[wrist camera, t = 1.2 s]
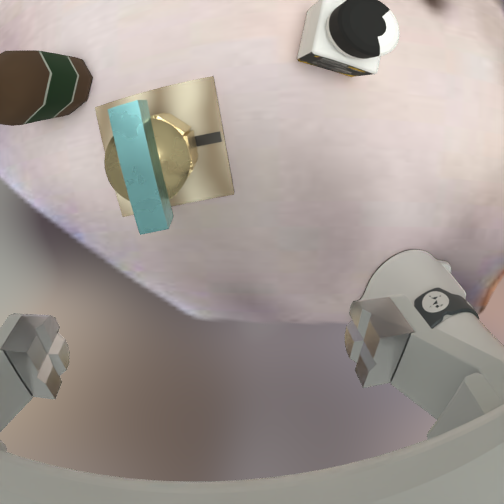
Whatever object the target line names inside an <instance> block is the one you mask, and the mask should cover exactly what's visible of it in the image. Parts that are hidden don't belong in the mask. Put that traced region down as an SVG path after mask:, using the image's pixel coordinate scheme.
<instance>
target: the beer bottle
mask: <svg viewBox="0 0 504 504" xmlns="http://www.w3.org/2000/svg"><path fill="white" fill-rule="evenodd" d="M91 81H92V76H91V74H90V72H89V70H88V68H87V67H86V65H85V63H84V61H83V60H82V59H79V58H75V57H70V56H65V55H60V54H55V53H49V52H43V51H5V52H3V53H1V54H0V124H3V125H11V126H13V125H23V124H27V123H32V122H36V121H41V120H46V119H51V118H56V117H61V116H65V115H69V114H70V113H72V112H73V111H74V110H75V109H76V108H78V107H79V106H80V105H81V104H83V103H84V102H85V101H86V100H87V97H88V93H89V89H90V85H91Z"/></svg>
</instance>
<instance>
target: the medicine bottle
mask: <svg viewBox="0 0 504 504" xmlns="http://www.w3.org/2000/svg"><path fill="white" fill-rule="evenodd" d="M398 40H399V26H398V23H397V20H396V18H395V16H394V15H393V13H392V12H391V11H390V9H389V8H388V7H387V6H385V5H384V4H383V3H381V2H380V1H378V0H346V1H345V0H318V1H317V2H316V3H315V4H314V5H313V6H312V7H311V8H310V9H309V10H308V11H307V16H306V20H305V25H304V29H303V34H302V38H301V43H300V47H299V52H298V57H297V60H298V61H300V62H304V63H307V64H311V65H315V66H318V67H322V68H325V69H328V70H332V71H335V72H338V73H341V74H344V75H347V76H350V77H353V76H361V75H370V74H376V73H377V71H378V67H379V62H380V57H381V56H382V55H385V54H388V53H389V52H391V51H392V50H393V49H394V48H395V47H396V45H397V43H398Z"/></svg>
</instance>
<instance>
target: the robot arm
mask: <svg viewBox="0 0 504 504" xmlns="http://www.w3.org/2000/svg"><path fill="white" fill-rule="evenodd" d="M465 299H466V293H465V291H464V290H463V288H462V287H461V286H460V285H459V283H458V282H457V281H456V280H455V278H454V277H453V276H452V275H451V266H450V265H449V263H448V262H446V261H441V260H437V259H435V258H434V257H433V256H432V255H431V254H429V253H428V252H426V251H423V250H408V251H404V252H401V253H399V254H397V255H395V256H393V257H392V258H390V259H389V260H387V261H386V262H385V263H384V264H383V265H382V266H381V267H380V268H379V269H378V270H377V271H376V272H375V274H374V275H373V276H372V278H371V280H370V282H369V284H368V286H367V288H366V291H365V293H364V295H363V297H362V298H361V299H360V300H359V301H353V303H352V305H351V307H350V312H349V314H350V316H351V318H352V321H351V322H350V323H349V324H348V325H347V326H346V331H345V347H346V351H347V353H348V355H349V358H350V359H351V360H353V361H354V362H356V363H357V365H356V368H355V371H356V374H357V376H358V378H359V380H360V382H361V385H362V387H363V388H366V387H371V386H376V385H381V384H386V383H391V385H393V386H394V387H395V388H396V389H398V390H399V391H401V392H402V393H403V394H404V395H406V396H407V397H408V398H409V399H411V400H412V401H413V402H415V403H416V404H417V405H419V406H420V407H421V408H422V409H424V410H425V411H426V412H428V413H429V414H430V415H431V416H433V417H434V418H435V419H437V421H436V422H435V424H434V425H433V426H432V428H431V429H430V430H429V432H428V434H427V437H428V439H427V440H425V441H422V442H419V443H416V444H414V445H411V446H408V447H405V448H402V449H399V450H396V451H393V452H389V453H386V454H383V455H380V456H376V457H373V458H369V459H366V460H361V461H357V462H354V463H350V464H345V465H341V466H337V467H332V468H327V469H322V470H317V471H311V472H305V473H299V474H293V475H286V476H279V477H271V478H261V479H250V480H236V481H217V482H216V481H214V482H175V481H155V480H141V479H130V478H122V477H113V476H106V475H99V474H93V473H87V472H81V471H77V470H72V469H67V468H62V467H58V466H53V465H49V464H45V463H41V462H38V461H34V460H30V459H27V458H23V457H20V456H17V455H14V454H11V453H7V452H6V451H7V448H6V445H5V444H4V443H3V442H2V441H1V440H0V504H504V345H503V344H502V343H501V342H500V341H499V340H497V339H496V338H495V337H494V336H493V335H492V334H491V333H490V332H489V330H488V329H487V328H486V327H485V326H484V325H483V324H482V323H481V322H480V321H479V317H478V314H477V313H476V312H475V310H474V308H473V307H472V306H471V304H470V303H468V302H467V301H466V300H465ZM59 328H60V327H59V324H58V322H57V320H56V318H55V317H53V316H51V315H34V314H15V313H14V314H11V315H9V317H8V318H7V319H6V321H5V322H4V324H3V325H2V327H1V328H0V432H1V431H2V430H3V429H4V428H5V427H6V426H7V424H8V423H9V422H10V421H11V420H12V419H13V418H14V417H15V416H16V415H17V414H18V413H19V412H20V411H21V410H22V409H23V408H24V406H25V405H26V404H27V403H28V402H29V401H30V400H31V399H32V398H33V397H41V398H48V399H56V396H57V393H58V391H59V388H60V386H61V383H62V381H61V378H60V375H61V374H62V373H64V372H65V371H66V370H67V367H68V365H69V356H70V352H69V348H68V344H67V342H66V340H65V339H64V338H63V337H62V336H61V335H60V334H59V333H58V332H59ZM32 396H33V397H32Z"/></svg>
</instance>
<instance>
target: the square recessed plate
mask: <svg viewBox="0 0 504 504" xmlns="http://www.w3.org/2000/svg"><path fill="white" fill-rule="evenodd" d="M136 100H147V103H148V108H149V113H150V116H152V115H157V114H162V113H166V114H168V113H170V114H171V115H173V116H175V117H176V118H178V119H180V120H181V121H183V122H184V123H186V124H188V125H189V126H191V129H190V130H189V131H191V130H194V135H195V140H196V145H197V150H198V155H199V156H198V158H197V159H198V160H197V162H196V164H195V166H194V168H193V171H192V172H191V174H190V175H189V177H188V178H187V180H186V181H185V183H184V185H183V186H182V188H181V189H180V190H179V192H178V193H177V195H176V196H175V195H174V196H173V198H172V199H169V201H170V205H171V206H176V205H181V204H186V203H191V202H196V201H201V200H206V199H212V198H217V197H222V196H228V195H234V189H233V183H232V178H231V172H230V167H229V161H228V155H227V150H226V144H225V139H224V133H223V128H222V122H221V116H220V111H219V105H218V99H217V94H216V88H215V82H214V77H213V76H212V77H207V78H202V79H197V80H192V81H187V82H183V83H178V84H174V85H170V86H166V87H162V88H158V89H154V90H150V91H147V92H143V93H139V94H136V95H133V96H129V97H126V98H123V99H119V100H116V101H113V102H110V103H107V104H104V105H101V106H98V107H95V110H96V115H97V120H98V124H99V129H100V133H101V138H102V142H103V146H104V150H105V153H106V149H107V146H108V144H109V142H110V140H111V138H112V137H113V132H112V128H111V123H110V119H109V114H108V109H110V108H113V107H116V106H119V105H122V104H126V103H129V102H132V101H136ZM115 192H116V191H115ZM116 195H117V199H118V202H119V206H120V209H121V212H122V216H123V217H125V216H130V215H134V213H133V210H132V206H131V203H130V201H128V200H126V199H125V198H123V197H122V196H120V195H119V194H118V193H117V192H116Z"/></svg>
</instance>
